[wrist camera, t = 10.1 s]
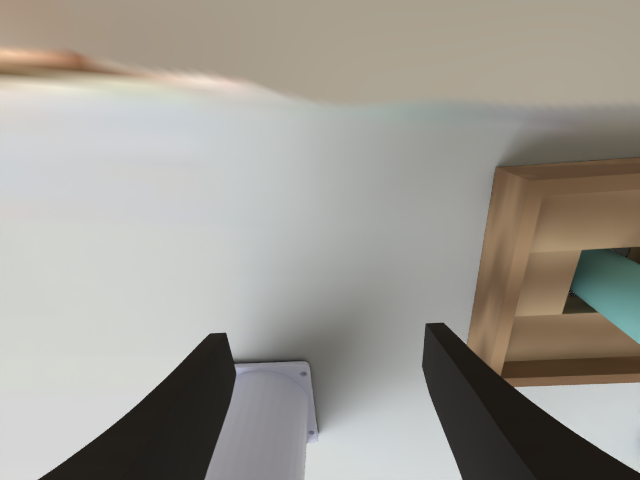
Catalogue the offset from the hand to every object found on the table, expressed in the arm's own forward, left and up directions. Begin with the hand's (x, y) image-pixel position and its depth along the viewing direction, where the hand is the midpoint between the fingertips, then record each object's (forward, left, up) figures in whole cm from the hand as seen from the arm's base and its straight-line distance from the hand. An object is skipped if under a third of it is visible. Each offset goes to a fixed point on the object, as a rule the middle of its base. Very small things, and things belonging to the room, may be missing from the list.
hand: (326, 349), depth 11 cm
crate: (-3, -17, -9) cm, 20 cm away
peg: (-3, -17, -9) cm, 20 cm away
